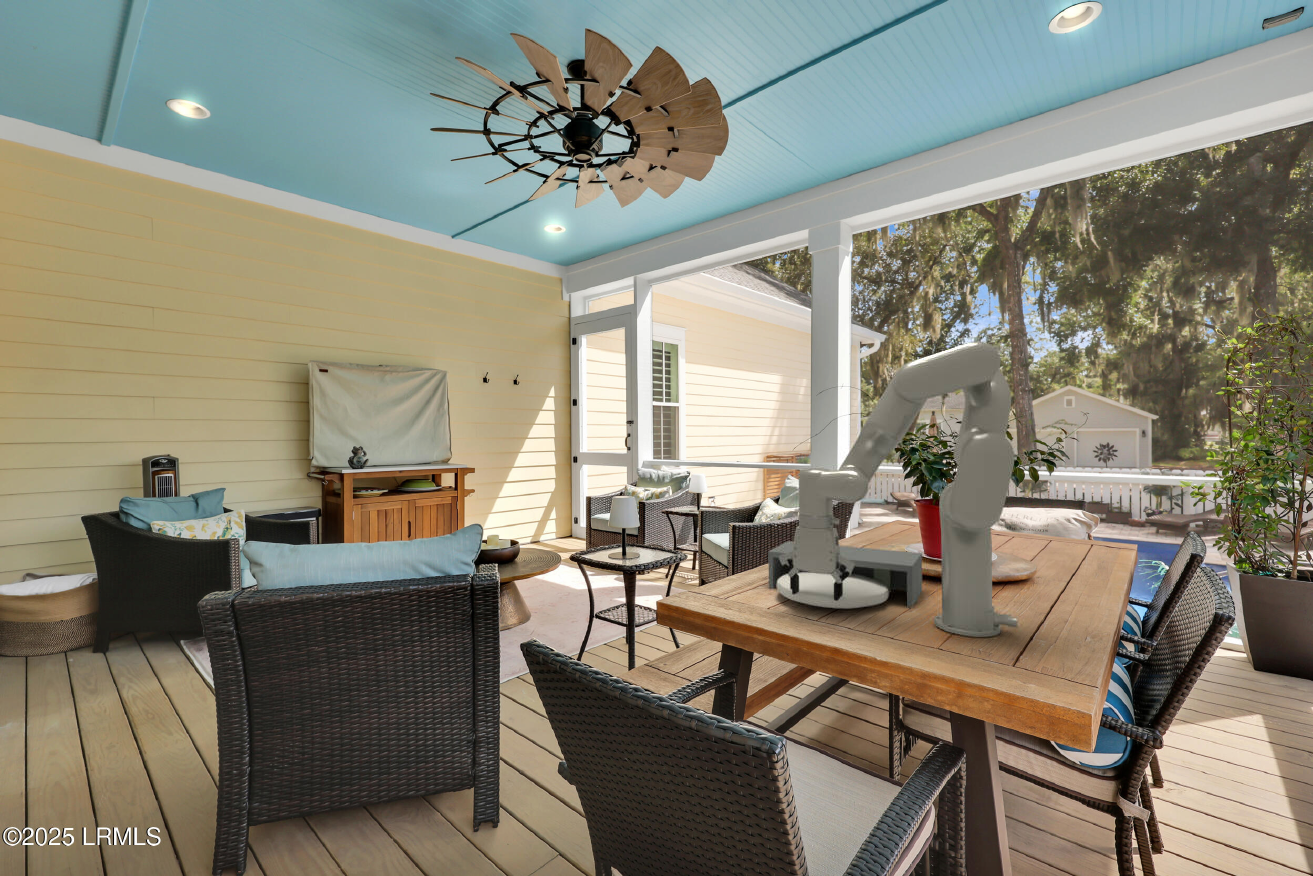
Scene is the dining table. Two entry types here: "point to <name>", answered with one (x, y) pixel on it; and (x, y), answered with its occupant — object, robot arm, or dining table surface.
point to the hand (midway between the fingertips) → (816, 596)
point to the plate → (821, 590)
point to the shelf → (866, 567)
